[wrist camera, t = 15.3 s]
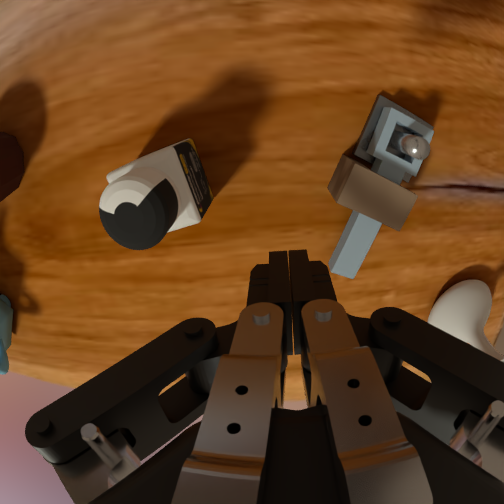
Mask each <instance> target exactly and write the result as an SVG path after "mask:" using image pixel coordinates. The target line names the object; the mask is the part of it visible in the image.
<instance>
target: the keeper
mask: <svg viewBox="0 0 504 504" xmlns="http://www.w3.org/2000/svg"><path fill="white" fill-rule="evenodd" d="M327 188H328V190H329V191H330V193H331V195H332V196H333V198H334V199H335V201H336V203H338V204H341V205H343V206H345V207H347V208H350V209H352V210H354V211H356V212H359V213H361V214H363V215H365V216H367V217H370V218H372V219H374V220H376V221H378V222H380V223H383V224H385V225H387V226H389V227H391V228H393V229H395V230H397V231H400V229H401V228H402V226H403V224H404V222H405V220H406V218H407V216H408V215H409V213H410V211H411V209H412V207H413V205H414V203H415V201H416V199H417V197H418V196H417V195H416V194H415V193H413V192H411V191H409V190H408V189H406V188H404V187H402V186H400V185H398V184H396V183H395V182H393V181H391V180H389V179H387V178H385V177H383V176H381V175H379V174H377V173H375V172H373V171H371V170H370V169H368V168H367V167H366V166H364V165H363V164H362V163H360V162H358V161H356V160H354V159H352V158H350V157H348V156H346V155H344V154H342V157H341V159H340V161H339V163H338V165H337V168H336V170H335V172H334V174H333V176H332V179H331V181H330V183H329V185H328V187H327Z"/></svg>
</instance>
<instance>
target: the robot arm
mask: <svg viewBox="0 0 504 504" xmlns="http://www.w3.org/2000/svg"><path fill="white" fill-rule="evenodd" d="M289 273H290V279H289ZM292 322H293V336H294V352H295V355H297V354H301V373H302V379H303V385H304V390H305V396H306V402H307V406H308V408H307V409H303V410H289V409H283V404H284V393H285V380H286V367H287V363H288V359H287V355H293V342H292ZM403 361H405V362H407V363H408V364H410V365H412V366H413V367H415V368H417V369H418V370H420V371H422V372H423V373H425V374H426V375H428V377H429V378H430V380H431V382H432V383H430V382H428V381H427V380H425V379H423V378H422V377H420V376H418V375H417V374H415V373H413V372H412V371H410V370H408V369H407V368H405V367H403V366H402V363H403ZM184 373H185V375H186V377H184V378H183V379H182V380H180V381H179V382H177V383H176V384H175V385H173V386H172V387H170V388H169V389H168V390H166V391H165V392H163V393H162V394H161V395H159V394H160V392H161V391H162V389H164V388H165V387H166V386H168V385H169V384H170V383H172V382H173V381H175V380H176V379H177V378H179V377H180V376H181V375H183V374H184ZM395 410H396V411H395ZM202 414H204V415H203V418H202V421H200V422H198V423H196V424H194V425H192V426H191V427H189V428H188V429H186V430H185V431H184V432H182V433H181V434H180V435H179V436H178V437H176V438H175V439H174V440H173V441H171V442H170V443H169V444H168V445H167V446H165V447H164V448H163V449H161V450H160V451H159V452H158V453H156V454H155V455H154V456H153V457H151V458H150V459H149V460H148V461H146V462H145V463H143V464H142V465H141V462H140V461H142V460H143V459H144V458H146V457H147V456H148V455H150V454H151V453H153V452H154V451H155V450H157V449H158V448H160V447H161V446H162V445H164V444H165V443H166V442H168V441H169V440H170V439H172V438H173V437H174V436H176V435H177V434H178V433H180V432H181V431H182V430H183V429H185V428H186V427H187V426H189V425H190V424H191V423H192V422H194V421H195V420H196V419H197V418H199V417H200V416H201V415H202ZM25 435H26V439H27V441H28V442H29V443H30V444H31V445H32V446H33V447H34V448H35V449H36V450H37V451H38V452H39V453H40V454H41V455H42V456H43V458H44V459H45V460H46V461H47V462H48V463H49V464H50V465H52V466H53V467H54V469H55V471H56V473H57V474H58V476H59V478H60V480H61V482H62V483H63V485H64V487H65V489H66V490H67V492H68V493H69V495H70V497H71V498H72V500H73V502H74V503H75V504H504V362H502V361H500V360H498V359H496V358H494V357H492V356H491V355H489V354H487V353H485V352H483V351H481V350H479V349H477V348H475V347H473V346H472V345H470V344H468V343H466V342H464V341H462V340H460V339H458V338H456V337H454V336H452V335H451V334H449V333H447V332H445V331H443V330H441V329H439V328H437V327H435V326H433V325H431V324H429V323H427V322H425V321H423V320H421V319H420V318H418V317H416V316H414V315H412V314H410V313H408V312H406V311H404V310H402V309H399V308H395V307H384V308H380V309H378V310H376V311H374V312H373V313H372V315H371V317H370V319H369V318H361V317H355V316H352V315H349V314H347V313H346V311H345V309H344V307H343V306H342V305H341V304H340V303H338V302H337V298H336V295H335V291H334V288H333V285H332V282H331V278H330V276H329V271H328V268H327V266H326V265H325V264H323V263H322V262H321V261H309V259H308V254H307V250H289V267H288V256H287V251H274V252H269V264H257V265H256V266H255V267H254V268H253V269H252V271H251V274H250V282H249V290H248V298H247V306H246V308H244V309H243V310H242V311H241V313H240V315H239V319H238V321H236V322H234V323H232V324H229V325H225V326H221V327H217V328H216V327H215V325H214V323H213V322H212V321H210V320H208V319H205V318H191V319H187V320H185V321H182V322H181V323H179V324H177V325H176V326H174V327H173V328H171V329H170V330H168V331H167V332H165V333H163V334H162V335H160V336H159V337H157V338H156V339H154V340H152V341H151V342H149V343H148V344H146V345H145V346H143V347H141V348H140V349H138V350H137V351H135V352H134V353H132V354H130V355H129V356H127V357H126V358H124V359H122V360H121V361H119V362H118V363H116V364H114V365H113V366H111V367H110V368H108V369H106V370H105V371H103V372H102V373H100V374H98V375H97V376H95V377H94V378H92V379H90V380H89V381H87V382H85V383H84V384H82V385H81V386H79V387H77V388H76V389H74V390H73V391H71V392H69V393H68V394H66V395H64V396H63V397H61V398H59V399H58V400H56V401H54V402H53V403H51V404H50V405H48V406H46V407H45V408H43V409H41V410H40V411H38V412H37V413H35V414H34V415H33V416H32V417H31V418H30V419H29V421H28V422H27V424H26V428H25ZM448 445H449V446H448ZM140 465H141V466H140Z"/></svg>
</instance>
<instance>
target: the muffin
mask: <svg viewBox="0 0 504 504" xmlns="http://www.w3.org/2000/svg"><path fill="white" fill-rule="evenodd" d="M23 174H24V165H23V151H22V149H21V148H20V146H19V144H18V142H17V140H16V137H14V136H10V135H8V134H6V133H5V132H0V202H1V201H2V200H4V199H5V198H6V197H7V196H8V195H10V194H11V193H12V192H13V191H15V190H16V189H17V188H18V187H19V184H20V181H21V178H22V176H23Z"/></svg>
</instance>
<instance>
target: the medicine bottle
mask: <svg viewBox="0 0 504 504" xmlns="http://www.w3.org/2000/svg"><path fill="white" fill-rule="evenodd" d="M107 180H108V182H109V185H108V186H107V187H106V188H105V190H104V191H103V193H102V196H101V199H100V204H99V213H100V218H101V222H102V224H103V226H104V228H105V230H106V232H107V233H108V234H109V236H110V237H111V238H112V239H113V240H114V241H116V242H117V243H118V244H120V245H122V246H124V247H126V248H129V249H133V250H144V249H148V248H151V247H153V246H155V245H156V244H158V243H159V242H160V241H161V240H162V239H163V237H164V236H165V235H166V233H167V232H170V231H173V230H177V229H180V228H183V227H187V226H190V225H193V224H197V223H199V222H200V221H201V220H202V218H203V216H204V214H205V213H206V211H207V209H208V207H209V206H210V204H211V202H212V201H213V199H214V198H213V194H212V192H211V189H210V186H209V183H208V181H207V178H206V175H205V172H204V170H203V167H202V164H201V161H200V158H199V156H198V153H197V150H196V147H195V145H194V142H193V140H192V139H191V138H189V139H186V140H183V141H181V142H178V143H175V144H173V145H170V146H168V147H165V148H163V149H160V150H158V151H155V152H153V153H150V154H148V155H145V156H143V157H141V158H138V159H136V160H134V161H132V162H130V163H128V164H126V165H124V166H122V167H120V168H118V169H116V170H114V171H112V172H110V173H108V174H107Z"/></svg>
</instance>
